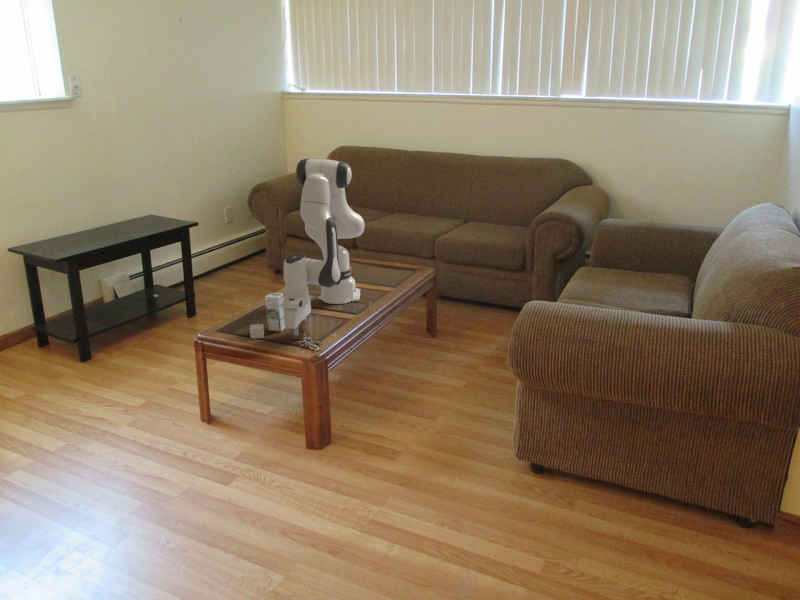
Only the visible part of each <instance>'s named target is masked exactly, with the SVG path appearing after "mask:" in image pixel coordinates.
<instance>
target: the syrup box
mask: <svg viewBox="0 0 800 600" xmlns="http://www.w3.org/2000/svg"><path fill="white" fill-rule="evenodd" d="M284 297H285V294H284V293H281V292H269V293H268V294H266V295H265V296H264V300H265V301H264V303H265V310H266V311H265V312H266V313H265V314H266V322H267V323H266V324H267V331H268V332H280V333H281V332H282V331H284V330H285V329H287V328H286V326H285V322H284V308H282V302H283V300H284Z"/></svg>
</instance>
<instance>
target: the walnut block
mask: <svg viewBox="0 0 800 600" xmlns="http://www.w3.org/2000/svg"><path fill="white" fill-rule="evenodd" d="M308 326H309V325H308V320H307V319H306V320H303V321H302V322H301V323H300V324H299V327H298V329H299V330H300V334H299V335H298V336H297V335H294V331H293V329H290V335H291V339H292V340H301V339H303V338H305V337H306V338H307V337H308V336H309V327H308ZM306 338H305V339H306Z"/></svg>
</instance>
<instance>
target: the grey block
mask: <svg viewBox="0 0 800 600" xmlns="http://www.w3.org/2000/svg"><path fill="white" fill-rule="evenodd" d="M249 334H250V339H251V338H253V339H264V338H265V328H264V323H260V324H259V323H258V324H250V325H249Z"/></svg>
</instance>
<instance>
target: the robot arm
mask: <svg viewBox="0 0 800 600" xmlns="http://www.w3.org/2000/svg"><path fill="white" fill-rule="evenodd" d="M351 168H352V167H351V166H350V165H349V163H348V162H345V161H344V160H334V159H327V158H324V159H322V158H321V159H317V158H316V159H315V158H313V159H310V158H304V159H301V160H299V161H298V162H297V166H296V168H295V169H296V170H295V177H296V180H297V182H298V183H299V185H301V186H302V192H301V198H300V209H299V212H300V217H301V219H302V221H303V222H304V230H305V233H306V235H307V236H308V237H309V238H310V239H312V240H313V241H314V242H315V243H316V244H317V245H318V246H319V248H320V249H321V252H322V257H323V260H322V259H315V258H308V257H305V256H304V254H300V253H294V254H289V255H288V256H286V257H285V259H284V261H283V280H284V284H285V288H284V300H283V302H282V308H284V322H285V326H286V328H285V329H287V330H291V329H293V331H294V335H297V336H298V335H299V334H300V330H299V329H298V327H299V324H300V323H301V322H302V321H303V320H307V317H308V316H309V315H310V314H311V313H312V312H311V311H312V305H311V297H310V295H309V294H310V293H309V291H310V290H309V285H313V286H314V285H315V286H320V288H321V289H320V293H321V294H320V295H319V296H318V297H317V298H318V300H321V302H324V303H326V304H331V305H341V304H348V302H349V303H351V301H352V302H356V301H357V302H358V301H360V297H361V293H360V291H361V290H362V289H361V288H357V286H356V280H355V278H353V276H352V266H350V253H349V251H348V249H346V248H345V247H344V246H342V245H339V244H338V243H339V242H338V240H339V239H353V238H358V237H360V236H362V234H363V233H364V232H365V226H366V225H365V220H364V219H363V217H362V216H361V214H359V213H357V212H355V211H354V210H353V209H352V208H351V207H350V205H349V204H348V202H347V197H346V189H345V188H347V187H348V186H349V185H350V183H351V180H352V176H353V175H352V173H353V172H352V169H351ZM308 284H309V285H308ZM361 292H362V291H361Z"/></svg>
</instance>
